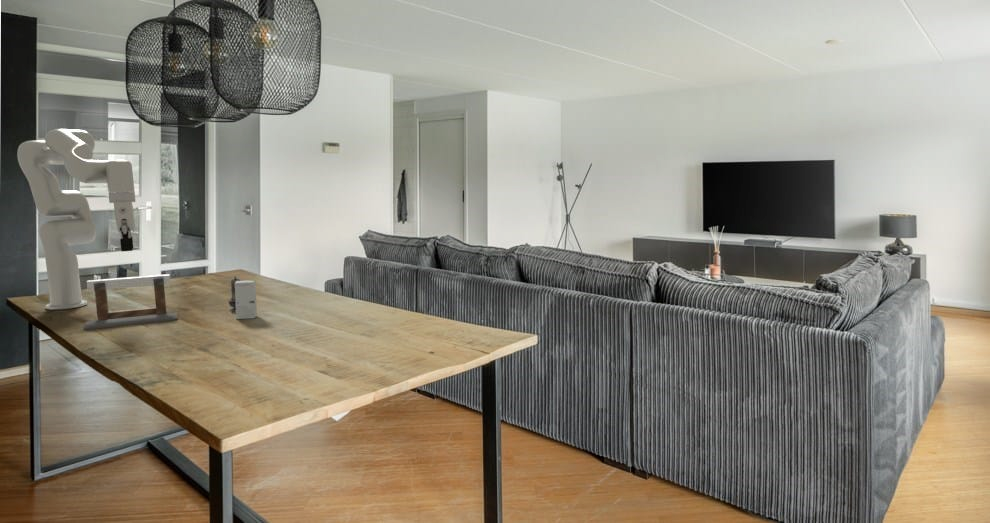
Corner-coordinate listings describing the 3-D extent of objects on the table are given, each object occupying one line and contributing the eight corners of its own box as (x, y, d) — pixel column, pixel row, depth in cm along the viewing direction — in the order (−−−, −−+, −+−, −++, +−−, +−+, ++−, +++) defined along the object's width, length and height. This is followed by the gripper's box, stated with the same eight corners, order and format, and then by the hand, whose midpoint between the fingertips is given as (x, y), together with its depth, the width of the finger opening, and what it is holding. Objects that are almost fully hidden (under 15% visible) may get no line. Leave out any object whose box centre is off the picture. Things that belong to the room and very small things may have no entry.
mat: (83, 330, 192) (83, 328, 192) (86, 323, 201) (86, 321, 201) (177, 319, 204) (177, 317, 204) (176, 314, 213) (176, 312, 213)
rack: (97, 321, 204) (93, 283, 202) (98, 317, 209) (95, 280, 207) (166, 313, 213) (163, 277, 212) (166, 310, 218) (163, 275, 217)
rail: (87, 290, 203) (86, 281, 202) (88, 289, 205) (87, 280, 205) (170, 283, 214) (169, 275, 214) (170, 282, 217) (169, 274, 216)
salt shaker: (242, 311, 215) (240, 277, 214) (225, 311, 215) (223, 277, 214) (249, 308, 221) (247, 274, 219) (232, 308, 221) (230, 274, 220)
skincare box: (235, 319, 204) (233, 282, 202) (238, 316, 208) (235, 280, 206) (255, 318, 205) (253, 281, 203) (257, 315, 209) (255, 279, 208)
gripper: (134, 198, 200) (140, 251, 202) (135, 197, 215) (140, 246, 217) (107, 198, 196) (113, 252, 199) (110, 198, 211) (115, 248, 214)
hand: (127, 249), depth 208 cm, fingers open, 9 cm apart
